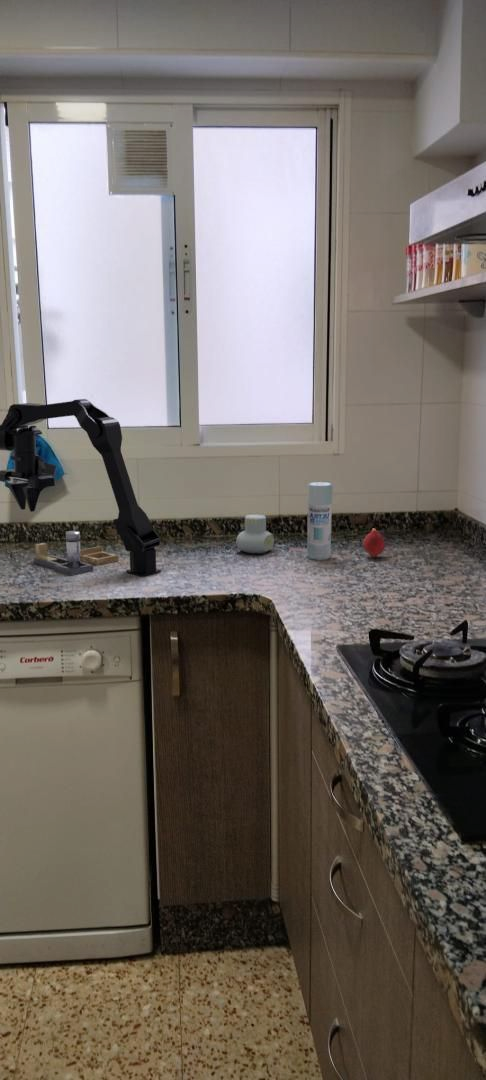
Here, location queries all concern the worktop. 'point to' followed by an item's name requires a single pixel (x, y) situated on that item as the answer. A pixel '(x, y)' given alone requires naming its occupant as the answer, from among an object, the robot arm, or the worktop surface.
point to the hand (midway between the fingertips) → (27, 510)
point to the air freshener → (255, 535)
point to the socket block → (63, 565)
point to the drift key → (43, 552)
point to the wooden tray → (97, 556)
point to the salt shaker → (73, 549)
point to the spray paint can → (319, 520)
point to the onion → (374, 543)
